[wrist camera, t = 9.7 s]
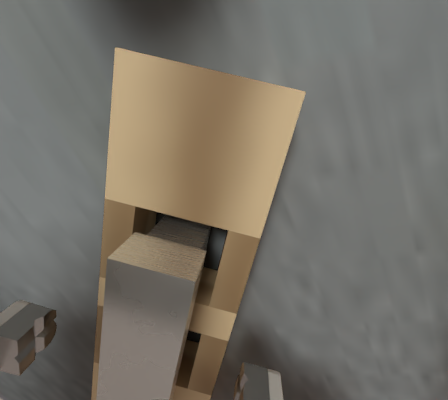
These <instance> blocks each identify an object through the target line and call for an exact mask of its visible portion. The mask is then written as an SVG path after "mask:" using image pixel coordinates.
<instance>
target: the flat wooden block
mask: <svg viewBox="0 0 448 400" xmlns="http://www.w3.org/2000/svg"><path fill="white" fill-rule="evenodd" d="M305 93H306V92H304V91H300V90H296V89H292V88H287V87H283V86H279V85H274V84H270V83H266V82H262V81H257V80H253V79H249V78H245V77H240V76H236V75H232V74H228V73H223V72H219V71H215V70H210V69H206V68H202V67H198V66H193V65H189V64H185V63H181V62H176V61H172V60H168V59H164V58H159V57H155V56H151V55H147V54H142V53H138V52H134V51H129V50H125V49H121V48H117V47H115V57H114V72H113V87H112V101H111V116H110V131H109V145H108V160H107V175H106V189H105V204H104V219H103V233H102V248H101V263H100V277H99V292H98V307H97V321H96V336H95V351H94V365H93V380H92V395H91V400H96V397H97V384H98V371H99V358H100V345H101V331H102V318H103V305H104V292H105V279H106V266H107V258H108V257H109V256H110V255H111V254H112V253H113V252H114V251H115V250H117V249H118V248H119V247H120V246H121V245H122V244H123V243H124V242H125V241H126V240H127V239H128V238H129V237H130V236H132V235H133V234H134V233H135V232H137V233H141V234H145V235H147V234H148V233H149V232H150V231H151V230H152V229H153V228H154V227H155V222H156V215H157V212H159V213H163V214H167V215H171V216H175V217H179V218H182V219H186V220H190V221H194V222H198V223H202V224H206V225H209V226H213V227H217V228H221V229H225V230H228V232H227V235H226V239H225V243H224V247H223V251H222V255H221V259H220V262H219V266H218V270H213V269H210V268H206V267H203V269H202V274H201V278H200V282H199V287H198V291H197V295H196V300H195V304H194V308H193V313H192V317H191V321H190V325H189V330H190V331H193V332H197V333H200V334H201V336H200V340H199V343H197V342H193V341H190V340H186V343H185V347H184V351H183V356H182V360H181V364H180V369H179V373H178V377H177V382H176V386H175V390H174V395H173V399H172V400H210V398H211V395H212V392H213V389H214V386H215V382H216V379H217V376H218V373H219V369H220V366H221V363H222V360H223V357H224V353H225V350H226V347H227V344H228V341H229V337H230V334H231V331H232V328H233V325H234V321H235V318H236V315H237V312H238V308H239V305H240V302H241V299H242V296H243V292H244V289H245V286H246V283H247V280H248V276H249V273H250V270H251V267H252V264H253V260H254V257H255V254H256V251H257V247H258V244H259V241H260V238H261V235H262V231H263V228H264V225H265V222H266V219H267V215H268V212H269V209H270V206H271V203H272V199H273V196H274V193H275V190H276V186H277V183H278V180H279V177H280V174H281V170H282V167H283V164H284V161H285V158H286V154H287V151H288V148H289V145H290V142H291V138H292V135H293V132H294V129H295V125H296V122H297V119H298V116H299V113H300V109H301V106H302V103H303V100H304V97H305Z"/></svg>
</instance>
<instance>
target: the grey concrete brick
mask: <svg viewBox="0 0 448 400" xmlns="http://www.w3.org/2000/svg"><path fill="white" fill-rule="evenodd" d="M210 231H211V226H209V225H206V224H202V223H198V222H194V221H190V220H186V219H182V218H179V217H175V216H171V215H167V214H166V215H165V216H164V217H163V218H162V219H161V220H160V221H159V222H158V223H157V225H156V226H155V227H154V228H153V229H152V230H151V231H150V232H149V233H148V234H147V235H145V234H141V233H137V232H135V233H134V234H133V235H132V236H130V237H129V238H128V239H127V240H126V241H125V242H124V243H123V244H122V245H121V246H120V247H119V248H118V249H117V250H115V251H114V252H113V253H112V254H111V255H110V256H109V257H108V258H107V266H106V279H105V292H104V305H103V318H102V331H101V345H100V358H99V371H98V384H97V397H96V400H172V399H173V395H174V390H175V386H176V382H177V377H178V373H179V369H180V364H181V360H182V356H183V351H184V347H185V343H186V338H187V334H188V330H189V325H190V321H191V317H192V313H193V308H194V304H195V300H196V295H197V291H198V287H199V282H200V278H201V274H202V269H203V265H204V261H205V256H206V252H207V251H206V248H207V244H208V240H209V235H210Z"/></svg>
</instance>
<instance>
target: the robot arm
mask: <svg viewBox="0 0 448 400" xmlns="http://www.w3.org/2000/svg"><path fill="white" fill-rule="evenodd" d="M55 318H56V310H53V309H50V308H46V307H43V306H40V305H37V304H34V303H30V302H27V301H23V300H19V301H16V302H15V303H13V304H12V305H11V306H9V307H8V308H7V309H5V310H4V311H3V312H1V313H0V371H3V372H7V373H11V374H15V375H19V376H20V375H21V374H22V373H23V372H24V371H25V370H26V368H27V367H28V366H29V365H30V364H31V363H32V362H33V361H34V360H35V356H36V353H37V352H39V351H42V350H44V349H45V348H46V347H47V346H48V344H49V343H50V342H51V340H52V339H53V337H54V335H55V332H56V326H57V325H56V323H55V322H54V319H55ZM233 400H283V392H282V383H281V375H280V373H279V372H278V371H275V370H271V369H267V368H265V367H261V366H257V365H253V364H250V363H246V362H243V363H242V366H241V370H240V375H238V377H237V380H236V384H235V389H234V398H233Z"/></svg>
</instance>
